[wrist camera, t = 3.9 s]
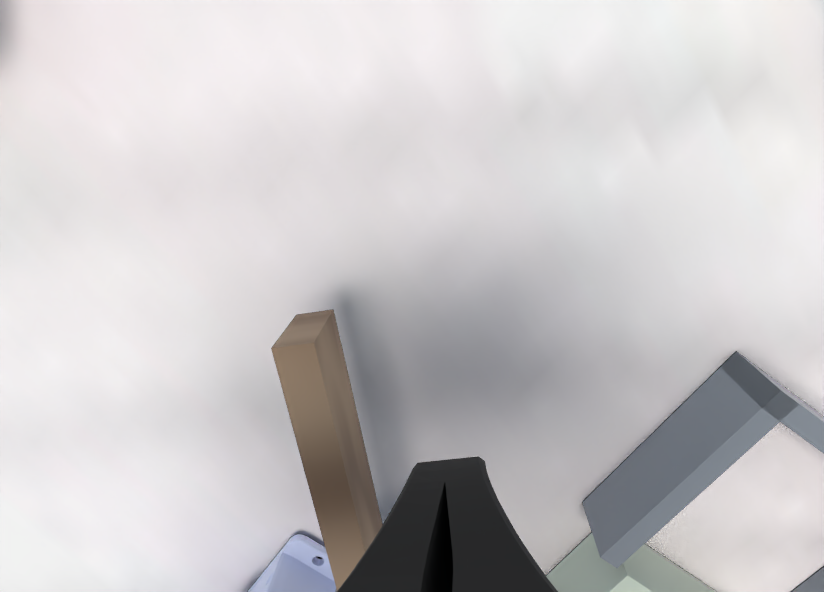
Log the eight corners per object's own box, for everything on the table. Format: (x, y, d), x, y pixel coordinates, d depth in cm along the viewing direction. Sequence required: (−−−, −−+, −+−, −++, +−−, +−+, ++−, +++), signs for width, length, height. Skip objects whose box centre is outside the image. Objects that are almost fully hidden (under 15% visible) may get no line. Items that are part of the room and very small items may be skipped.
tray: (582, 502, 23) (600, 557, 20) (736, 351, 21) (781, 390, 18) (770, 627, 25) (811, 695, 22) (936, 500, 22) (1007, 558, 19)
